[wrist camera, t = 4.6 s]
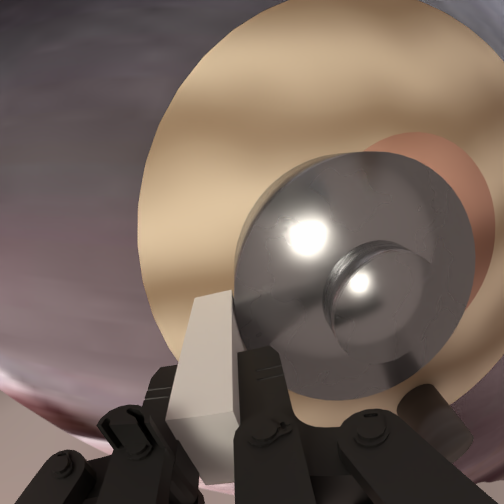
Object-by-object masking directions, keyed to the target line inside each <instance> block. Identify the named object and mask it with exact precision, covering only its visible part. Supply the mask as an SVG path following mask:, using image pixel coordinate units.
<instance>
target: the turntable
mask: <svg viewBox="0 0 504 504" xmlns="http://www.w3.org/2000/svg"><path fill="white" fill-rule="evenodd" d="M364 151H379V152H390V153H395V154H400V155H404V156H406V157H409V158H412V159H415V160H417V161H419V162H421V163H423V164H424V165H426V166H428V167H430V168H431V169H432V170H434V171H435V172H436V173H437V174H439V175H440V176H441V177H442V178H443V179H444V180H445V181H446V182H447V183H448V184H449V185H450V186H451V187H452V189H453V190H454V191H455V193H456V194H457V196H458V197H459V199H460V200H461V202H462V204H463V206H464V208H465V210H466V212H467V215H468V218H469V221H470V224H471V227H472V232H473V237H474V243H475V273H474V280H473V286H472V290H471V294H470V297H469V300H468V303H467V306H466V308H465V311H464V314H463V316H462V318H461V320H460V322H459V324H458V326H457V327H456V329H455V331H454V332H453V334H452V335H451V337H450V338H449V340H448V341H447V342H446V344H445V345H444V346H443V348H442V349H441V350H440V351H439V352H438V353H437V354H436V355H435V357H434V358H433V359H432V360H431V361H430V362H429V363H427V364H426V365H425V366H424V367H423V368H422V369H421V370H419V371H418V372H417V373H415V374H414V375H412V376H411V377H410V378H408V379H407V380H405V381H403V382H401V383H400V384H398V385H396V386H394V387H392V388H390V389H388V390H385V391H383V392H380V393H377V394H374V395H371V396H368V397H363V398H359V399H352V400H342V401H333V400H321V399H314V398H310V397H306V396H303V395H300V394H297V393H295V392H292V391H290V390H288V392H289V396H290V400H291V404H292V408H293V411H294V414H295V416H296V417H297V418H298V419H299V420H300V421H302V422H304V423H306V424H308V425H311V426H315V427H340V426H341V425H342V423H343V421H344V420H346V419H347V418H348V417H350V416H351V415H352V414H354V413H357V412H360V411H362V410H365V409H376V408H378V409H383V410H389V411H391V412H392V413H394V414H396V415H398V416H399V417H400V418H401V419H402V420H403V421H404V422H406V423H407V424H408V425H409V426H410V427H411V428H412V429H413V430H414V431H416V432H417V433H418V434H419V435H420V436H421V437H422V438H423V439H425V440H426V441H427V442H428V443H429V444H430V445H431V446H432V447H434V448H435V449H436V450H437V451H438V452H439V453H440V454H441V455H443V456H444V457H445V458H446V459H447V460H448V461H449V462H450V463H453V462H455V461H456V460H457V459H459V458H460V457H461V456H462V455H463V454H464V453H465V452H466V451H467V450H468V449H469V447H470V446H471V444H472V442H473V435H472V434H471V433H470V431H469V430H468V429H467V427H466V426H465V425H464V423H463V422H462V421H461V419H460V418H459V417H458V416H457V414H456V413H455V412H454V410H453V409H452V408H451V407H450V404H452V403H453V402H455V401H456V400H457V399H459V398H460V397H461V396H463V395H464V394H465V393H466V392H468V391H469V390H470V389H471V388H472V387H473V386H475V385H476V384H477V383H478V382H479V381H480V380H481V379H482V378H483V377H484V376H485V375H486V374H487V373H488V372H489V371H490V370H491V369H492V367H493V366H494V365H495V364H496V363H497V362H498V361H499V359H500V358H501V357H502V356H503V354H504V62H503V60H502V59H501V58H500V57H499V56H498V55H497V54H496V53H495V51H494V50H493V49H492V48H491V47H490V46H489V45H488V44H487V43H486V42H484V41H483V40H482V39H481V38H480V37H479V36H478V35H476V34H475V33H474V32H473V31H472V30H470V29H469V28H468V27H466V26H465V25H463V24H462V23H460V22H459V21H457V20H456V19H454V18H453V17H451V16H450V15H448V14H446V13H445V12H442V11H440V10H438V9H436V8H434V7H432V6H430V5H427V4H425V3H423V2H421V1H418V0H289V1H286V2H284V3H281V4H279V5H276V6H274V7H271V8H269V9H267V10H265V11H263V12H261V13H259V14H258V15H256V16H254V17H253V18H251V19H250V20H248V21H246V22H245V23H243V24H242V25H240V26H239V27H237V28H236V29H234V30H233V31H231V32H230V33H229V34H228V35H227V36H226V37H225V38H223V39H222V40H221V41H220V42H219V43H218V44H217V45H216V46H215V47H213V48H212V49H211V50H210V51H209V52H208V53H207V54H206V55H205V56H204V57H203V58H202V59H201V61H200V62H199V63H198V64H197V65H196V67H195V68H194V69H193V71H192V72H191V73H190V74H189V76H188V77H187V78H186V80H185V81H184V82H183V83H182V85H181V86H180V87H179V89H178V91H177V92H176V94H175V96H174V98H173V100H172V101H171V103H170V105H169V107H168V109H167V111H166V113H165V114H164V116H163V118H162V120H161V122H160V124H159V126H158V129H157V132H156V135H155V137H154V140H153V143H152V146H151V149H150V152H149V155H148V158H147V161H146V164H145V169H144V174H143V180H142V186H141V191H140V197H139V204H138V251H139V258H140V265H141V272H142V279H143V284H144V287H145V291H146V294H147V297H148V301H149V304H150V307H151V310H152V313H153V316H154V319H155V321H156V323H157V325H158V327H159V329H160V331H161V333H162V335H163V337H164V339H165V341H166V343H167V345H168V347H169V349H170V350H171V352H172V353H173V355H174V356H175V357H176V359H177V360H178V362H179V358H180V354H181V350H182V346H183V342H184V338H185V334H186V330H187V326H188V322H189V318H190V314H191V310H192V306H193V302H194V299H195V298H196V297H201V296H205V295H210V294H214V293H219V292H223V291H228V290H232V293H233V297H234V258H235V252H236V246H237V241H238V238H239V235H240V232H241V229H242V226H243V224H244V222H245V220H246V218H247V216H248V214H249V212H250V210H251V209H252V207H253V206H254V204H255V203H256V201H257V200H258V198H259V197H260V196H261V195H262V194H263V193H264V191H265V190H266V189H267V188H268V187H269V186H270V185H271V184H272V183H273V182H275V181H276V180H277V179H278V178H279V177H280V176H282V175H283V174H285V173H286V172H288V171H289V170H291V169H292V168H294V167H295V166H298V165H300V164H302V163H304V162H306V161H308V160H311V159H314V158H317V157H321V156H324V155H331V154H337V153H349V152H364Z"/></svg>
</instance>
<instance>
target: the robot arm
mask: <svg viewBox="0 0 504 504" xmlns="http://www.w3.org/2000/svg"><path fill="white" fill-rule="evenodd" d="M97 427H98V428H99V430H100V431H101V432H102V434H103V435H104V437H105V438H106V439H107V441H108V442H109V444H110V445H111V446H112V448H113V449H114V450H113V453H112V455H109V456H106V457H102V458H98V459H94V460H89V461H86V459H85V458H84V457H83V456H82V455H81V454H80V453H79V452H77V451H75V450H64V451H60V452H58V453H56V454H54V455H52V456H51V457H50V458H49V459H48V460H47V461H46V462H45V463H44V465H43V466H42V468H41V469H40V470H39V471H38V473H37V474H36V476H35V477H34V478H33V479H32V481H31V482H30V483H29V485H28V486H27V487H26V489H25V490H24V491H23V493H22V494H21V496H20V497H19V498H18V500H17V501H16V503H15V504H205V502H204V497H203V495H202V493H201V492H200V491H199V489H198V485H199V476H200V477H201V479H202V480H203V482H204V483H205V485H213V484H223V483H232V482H234V484H235V504H498V503H497V502H496V501H494V500H493V499H492V498H491V497H490V496H488V495H487V494H486V493H485V492H484V491H483V490H481V489H480V488H479V487H478V486H477V485H476V484H475V483H473V482H472V481H471V480H470V479H469V478H468V477H466V476H465V475H464V474H463V473H462V472H461V471H460V470H458V469H457V468H456V467H455V466H454V465H453V464H452V463H450V462H449V461H448V460H447V459H446V458H445V457H444V456H443V455H441V454H440V453H439V452H438V451H437V450H436V449H435V448H434V447H432V446H431V445H430V444H429V443H428V442H427V441H426V440H425V439H423V438H422V437H421V436H420V435H419V434H418V433H417V432H416V431H414V430H413V429H412V428H411V427H410V426H409V425H408V424H407V423H406V422H404V421H403V420H402V419H401V418H400V417H399V416H398V415H396V414H394V413H392V412H391V411H389V410H383V409H378V408H376V409H365V410H362V411H360V412H357V413H354V414H352V415H351V416H350V417H348V418H347V419H346V420H344V421H343V423H342V425H341V426H340V427H315V426H311V425H308V424H306V423H304V422H302V421H300V420H299V419H298V418H297V417H296V416H295V414H294V411H293V408H292V404H291V400H290V396H289V392H288V388H287V384H286V380H285V376H284V372H283V368H282V364H281V360H280V356H279V353H278V352H277V351H276V350H275V349H273V348H272V347H271V346H270V345H269V346H264V347H260V348H256V349H251V350H247V349H246V347H245V344H244V342H243V340H242V338H241V335H240V332H239V328H238V324H237V320H236V314H235V304H234V297H233V293H232V290H228V291H223V292H219V293H214V294H210V295H205V296H201V297H196V298H195V299H194V302H193V306H192V310H191V314H190V318H189V322H188V326H187V330H186V334H185V338H184V342H183V346H182V350H181V354H180V358H179V362H178V365H173V366H167V367H161V368H160V369H159V370H158V371H157V372H156V373H155V374H154V376H153V377H152V378H151V381H150V384H149V387H148V391H147V393H146V396H145V400H144V402H143V405H142V407H141V406H139V405H125V406H120V407H117V408H115V409H113V410H111V411H109V412H108V413H107V414H105V415H104V416H103V417H102V418H101V419H100V421H99V422H98V424H97Z"/></svg>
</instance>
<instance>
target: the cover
mask: <svg viewBox="0 0 504 504" xmlns="http://www.w3.org/2000/svg"><path fill="white" fill-rule="evenodd" d="M474 273H475V243H474V237H473V232H472V227H471V224H470V221H469V218H468V215H467V212H466V210H465V208H464V206H463V204H462V202H461V200H460V199H459V197H458V196H457V194H456V193H455V191H454V190H453V189H452V187H451V186H450V185H449V184H448V183H447V182H446V181H445V180H444V179H443V178H442V177H441V176H440V175H439V174H437V173H436V172H435V171H434V170H432V169H431V168H430V167H428V166H426V165H424V164H423V163H421V162H419V161H417V160H415V159H412V158H409V157H406V156H404V155H400V154H395V153H390V152H379V151H364V152H349V153H337V154H331V155H324V156H321V157H317V158H314V159H311V160H308V161H306V162H304V163H302V164H300V165H298V166H295V167H294V168H292V169H291V170H289V171H288V172H286V173H285V174H283V175H282V176H280V177H279V178H278V179H277V180H276V181H275V182H273V183H272V184H271V185H270V186H269V187H268V188H267V189H266V190H265V191H264V193H263V194H262V195H261V196H260V197H259V198H258V200H257V201H256V203H255V204H254V206H253V207H252V209H251V210H250V212H249V214H248V216H247V218H246V220H245V222H244V224H243V226H242V229H241V232H240V235H239V238H238V241H237V246H236V252H235V258H234V304H235V314H236V320H237V324H238V328H239V332H240V335H241V338H242V340H243V342H244V344H245V347H246V349H247V350H251V349H256V348H260V347H264V346H269V345H270V346H271V347H272V348H273V349H275V350H276V351H277V352H278V353H279V356H280V360H281V364H282V368H283V372H284V376H285V380H286V384H287V388H288V390H290V391H292V392H295V393H297V394H300V395H303V396H306V397H310V398H314V399H321V400H333V401H342V400H352V399H359V398H363V397H368V396H371V395H374V394H377V393H380V392H383V391H385V390H388V389H390V388H392V387H394V386H396V385H398V384H400V383H401V382H403V381H405V380H407V379H408V378H410V377H411V376H412V375H414V374H415V373H417V372H418V371H419V370H421V369H422V368H423V367H424V366H425V365H426V364H427V363H429V362H430V361H431V360H432V359H433V358H434V357H435V355H436V354H437V353H438V352H439V351H440V350H441V349H442V348H443V346H444V345H445V344H446V342H447V341H448V340H449V338H450V337H451V335H452V334H453V332H454V331H455V329H456V327H457V326H458V324H459V322H460V320H461V318H462V316H463V314H464V311H465V308H466V306H467V303H468V300H469V297H470V294H471V290H472V286H473V280H474Z"/></svg>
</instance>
